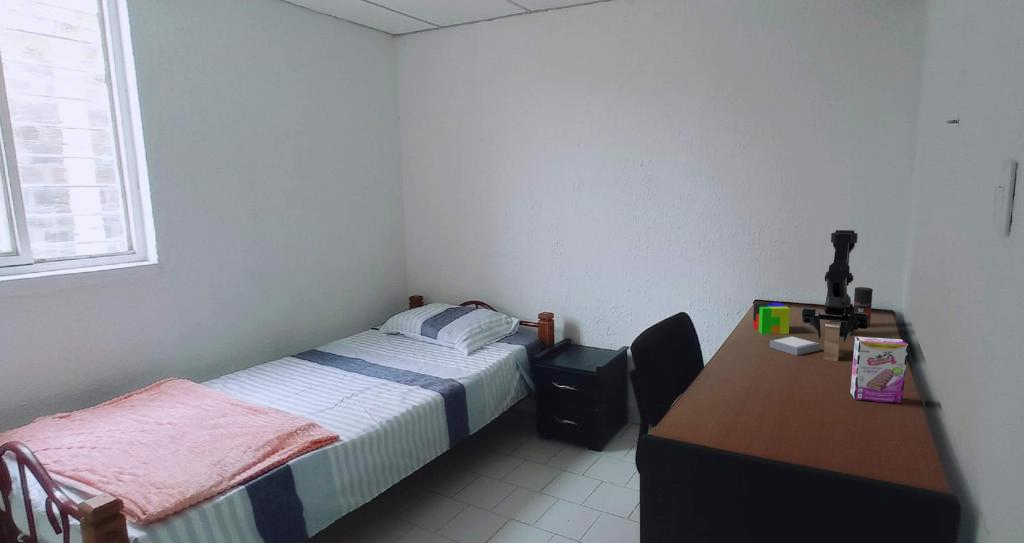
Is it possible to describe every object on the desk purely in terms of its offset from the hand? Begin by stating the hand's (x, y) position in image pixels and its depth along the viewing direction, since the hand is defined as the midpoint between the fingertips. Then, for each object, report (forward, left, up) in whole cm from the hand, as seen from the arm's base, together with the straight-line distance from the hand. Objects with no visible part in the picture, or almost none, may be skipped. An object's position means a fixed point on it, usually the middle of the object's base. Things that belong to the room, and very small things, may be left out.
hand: (831, 340), depth 178 cm
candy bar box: (+20, +27, -7) cm, 34 cm away
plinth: (0, -14, -7) cm, 15 cm away
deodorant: (-48, -22, -7) cm, 53 cm away
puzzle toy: (-13, -35, -7) cm, 38 cm away
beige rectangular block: (-1, -1, -7) cm, 7 cm away
